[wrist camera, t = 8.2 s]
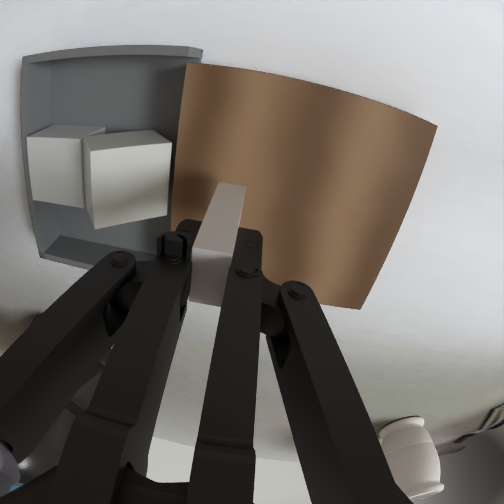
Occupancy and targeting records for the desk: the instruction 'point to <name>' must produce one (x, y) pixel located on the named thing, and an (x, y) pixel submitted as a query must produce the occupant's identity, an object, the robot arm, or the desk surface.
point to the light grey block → (59, 163)
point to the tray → (114, 120)
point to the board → (301, 172)
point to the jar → (412, 458)
